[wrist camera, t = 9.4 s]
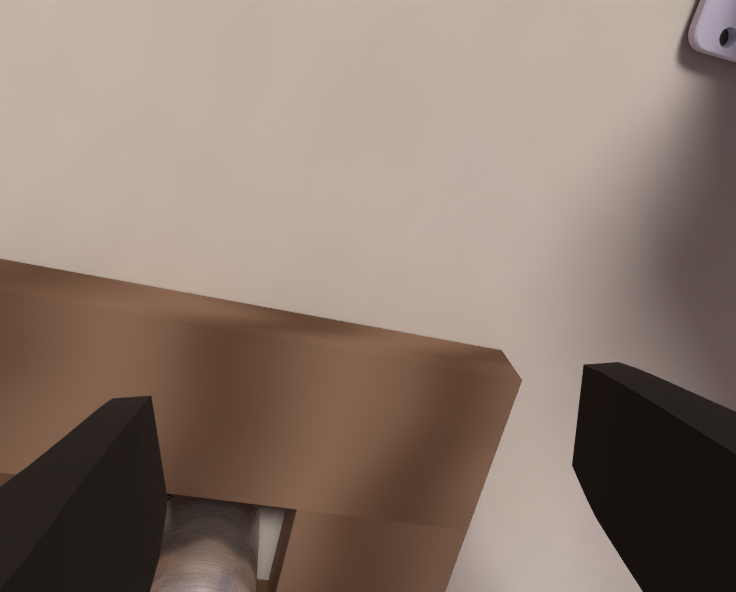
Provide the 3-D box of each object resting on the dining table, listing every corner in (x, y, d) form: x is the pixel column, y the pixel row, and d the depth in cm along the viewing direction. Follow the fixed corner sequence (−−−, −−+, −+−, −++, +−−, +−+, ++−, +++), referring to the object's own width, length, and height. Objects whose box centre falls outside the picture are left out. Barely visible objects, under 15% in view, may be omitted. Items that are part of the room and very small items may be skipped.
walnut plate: (501, 350, 22) (521, 380, 20) (379, 702, 27) (386, 751, 25) (-32, 253, 19) (-67, 277, 17) (-52, 671, 24) (-80, 725, 22)
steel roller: (255, 472, 22) (245, 618, 17) (263, 548, 23) (257, 707, 18) (157, 482, 22) (114, 634, 16) (171, 558, 23) (134, 723, 18)
